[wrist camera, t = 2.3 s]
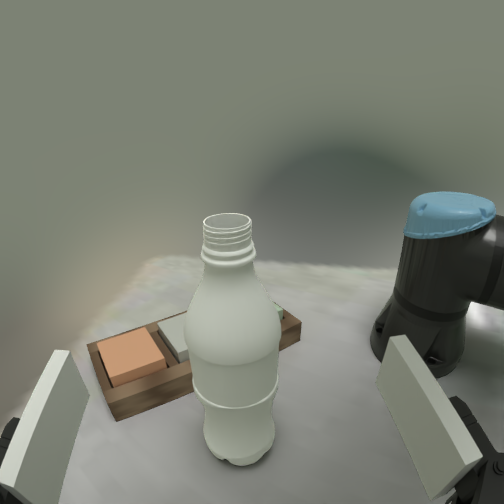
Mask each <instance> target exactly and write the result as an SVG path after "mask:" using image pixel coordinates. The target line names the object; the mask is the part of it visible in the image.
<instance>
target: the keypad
mask: <svg viewBox="0 0 504 504" xmlns="http://www.w3.org/2000/svg"><path fill="white" fill-rule="evenodd" d="M272 302H273V301H272ZM274 303H275V302H274ZM275 304H276V303H275ZM278 306H279V305H278ZM279 307H280V306H279ZM281 308H282V307H281ZM282 309H283V308H282ZM186 312H187V311H185V312H182V313H179V314H176V315H173V316H170V317H168V318H165V319H162V320H159V321H156V322H153V323H150V324H147V325H144V326H141V327H138V328H135V329H132V330H129V331H126V332H123V333H120V334H117V335H114V336H111V337H108V338H105V339H102V340H99V341H96V342H93V343H90V344H87V347H88V351H89V354H90V357H91V360H92V363H93V366H94V369H95V372H96V375H97V377H98V380H99V383H100V386H101V388H102V391H103V394H104V396H105V399H106V401H107V404H108V406H109V408H110V410H111V412H112V414H113V416H114V418H115V420H116V422H117V421H120V420H122V419H125V418H128V417H131V416H133V415H136V414H139V413H141V412H144V411H147V410H149V409H152V408H154V407H157V406H159V405H162V404H164V403H167V402H169V401H172V400H174V399H177V398H179V397H182V396H184V395H186V394H189V393H191V392H193V391H194V388H193V382H192V377H193V374H192V369H191V363H190V360H187V361H185V362H182V363H180V364H178V362H177V361H176V359H175V358H174V356H173V355H172V354H171V352H170V351H169V349H168V348H167V346H166V345H165V343H164V342H163V340H162V339H161V338H160V335H159V330H158V326H157V323H158V322H161V321H164V320H166V319H169V318H172V317H175V316H178V315H181V314H184V313H186ZM280 323H281V339H280V341H279V351H281V350H282V349H284V348H286V347H288V346H290V345H292V344H294V343H296V342H298V341H300V334H301V323H302V322H301V321H300V320H298V319H297V318H296V317H294V316H293V315H291V314H290V313H289V312H287V311H286V310H284V309H283V319H282V320H280ZM143 327H145V328H146V329H147V331H148V333H149V334H150V336H151V337H152V339H153V341H154V342H155V344H156V345H157V347H158V348H159V350H160V352H161V353H162V355H163V356H164V358H165V361H166V365H167V369H164V370H162V371H159V372H157V373H154V374H151V375H149V376H146V377H143V378H140V379H138V380H135V381H132V382H129V383H127V384H124V385H121V386H118V387H115V388H114V387H113V384H112V382H111V380H110V377H109V375H108V372H107V370H106V367H105V364H104V362H103V359H102V357H101V354H100V351H99V348H98V346H97V343H98V342H101V341H104V340H107V339H110V338H113V337H116V336H119V335H122V334H125V333H128V332H131V331H134V330H137V329H140V328H143Z"/></svg>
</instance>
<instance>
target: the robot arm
mask: <svg viewBox="0 0 504 504" xmlns="http://www.w3.org/2000/svg"><path fill="white" fill-rule="evenodd" d="M403 233H404V241H403V247H402V253H401V258H400V263H399V268H398V272H397V277H396V282H395V286H394V291H393V294H392V296H391V297H390V299H389V300H388V302H387V303H386V305H385V307H384V308H383V310H382V311H381V313H380V314H379V316H378V317H377V319H376V321H375V323H374V326H373V330H372V334H371V346H372V349H373V351H374V353H375V355H376V356H377V357H378V359H379V360H380V361H381V362H382V364H381V367H380V370H379V373H378V376H377V379H376V382H375V383H376V385H377V387H378V389H379V391H380V393H381V395H382V397H383V399H384V401H385V403H386V405H387V407H388V409H389V411H390V413H391V416H392V418H393V420H394V422H395V424H396V426H397V428H398V430H399V432H400V435H401V437H402V439H403V441H404V443H405V445H406V447H407V450H408V452H409V454H410V456H411V458H412V461H413V463H414V465H415V467H416V470H417V472H418V474H419V476H420V479H421V481H422V483H423V486H424V488H425V490H426V492H427V495H428V497H429V499H430V501H431V500H433V499H436V498H438V497H440V496H443V495H445V494H447V493H448V492H449V491H450V490H451V489H452V488H453V487H455V490H456V492H455V493H454V494H453V495H452V496H451V497H450V498H449V499H447V501H446V503H445V504H449V503H450V502H451V501H452V502H451V504H504V453H498V452H497V451H496V450H495V449H494V447H493V446H492V444H491V442H490V441H489V439H488V438H487V436H486V434H485V433H484V431H483V429H482V428H481V426H480V425H479V423H477V420H476V418H475V417H474V415H472V412H471V411H470V409H469V408H468V406H467V405H466V403H465V402H463V401H462V400H461V399H459V398H458V397H457V396H454V397H451V398H449V399H448V398H447V396H446V394H445V393H444V391H443V390H442V388H441V387H440V385H439V384H438V382H437V381H436V379H435V378H438V377H441V376H444V375H446V374H448V373H449V372H451V371H452V370H453V369H454V368H455V367H456V365H457V363H458V361H459V359H460V357H461V355H462V352H463V349H464V341H465V324H466V314H467V311H468V308H469V305H470V302H476V303H479V304H483V305H487V306H490V307H494V308H497V309H500V310H504V217H503V216H499V215H496V210H495V205H494V203H493V202H491V201H490V200H488V199H486V198H483V197H477V196H476V195H472V194H466V193H459V192H432V193H426V194H422V195H420V196H418V197H417V198H415V199H414V200H413V202H412V203H411V205H410V208H409V213H408V218H407V223H406V226H405V227H404V232H403ZM89 396H90V395H89V393H88V391H87V388H86V386H85V384H84V382H83V380H82V378H81V375H80V373H79V371H78V369H77V366H76V364H75V362H74V359H73V357H72V355H71V352H70V351H65V350H55V351H54V353H53V354H52V356H51V358H50V360H49V362H48V364H47V366H46V368H45V369H44V371H43V373H42V375H41V377H40V379H39V381H38V383H37V385H36V387H35V389H34V391H33V393H32V395H31V397H30V400H29V402H28V404H27V406H26V408H25V410H24V412H23V415H22V417H21V419H19V418H15V417H13V418H12V419H11V421H10V422H9V423H8V424H7V425H6V426H5V428H4V430H3V433H2V435H1V438H0V504H58V502H59V497H60V493H61V489H62V485H63V482H64V478H65V474H66V470H67V467H68V463H69V459H70V456H71V453H72V449H73V446H74V442H75V439H76V436H77V433H78V429H79V426H80V423H81V420H82V417H83V414H84V411H85V408H86V405H87V402H88V399H89Z"/></svg>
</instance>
